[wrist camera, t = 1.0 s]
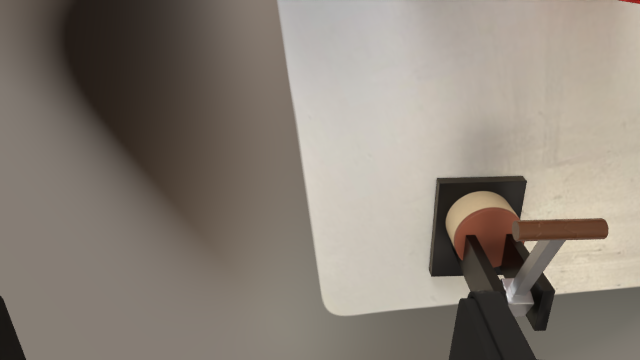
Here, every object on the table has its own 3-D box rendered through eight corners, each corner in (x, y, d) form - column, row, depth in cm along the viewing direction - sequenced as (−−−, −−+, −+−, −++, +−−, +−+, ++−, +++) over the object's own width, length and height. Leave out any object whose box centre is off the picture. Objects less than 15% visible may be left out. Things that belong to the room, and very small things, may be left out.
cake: (479, 178, 48) (492, 196, 44) (525, 215, 49) (540, 235, 46) (432, 224, 50) (440, 245, 46) (476, 257, 52) (488, 279, 48)
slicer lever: (513, 210, 32) (523, 240, 31) (600, 208, 32) (614, 238, 31) (472, 292, 43) (478, 317, 41) (537, 291, 43) (546, 316, 41)
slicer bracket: (437, 178, 49) (475, 254, 37) (522, 176, 49) (590, 251, 36) (429, 270, 54) (460, 363, 42) (506, 268, 54) (560, 362, 42)
